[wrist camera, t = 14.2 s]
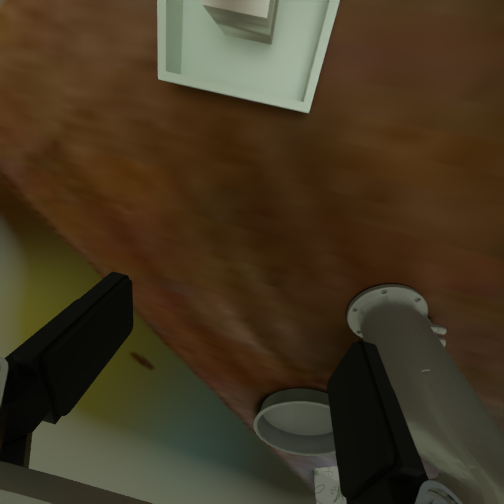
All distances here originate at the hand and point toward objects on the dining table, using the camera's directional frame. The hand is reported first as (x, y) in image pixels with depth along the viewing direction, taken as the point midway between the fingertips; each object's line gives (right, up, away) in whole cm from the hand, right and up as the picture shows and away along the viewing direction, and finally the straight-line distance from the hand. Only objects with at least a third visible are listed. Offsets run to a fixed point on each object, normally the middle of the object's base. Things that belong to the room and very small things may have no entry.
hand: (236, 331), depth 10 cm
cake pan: (+14, -37, +51) cm, 65 cm away
